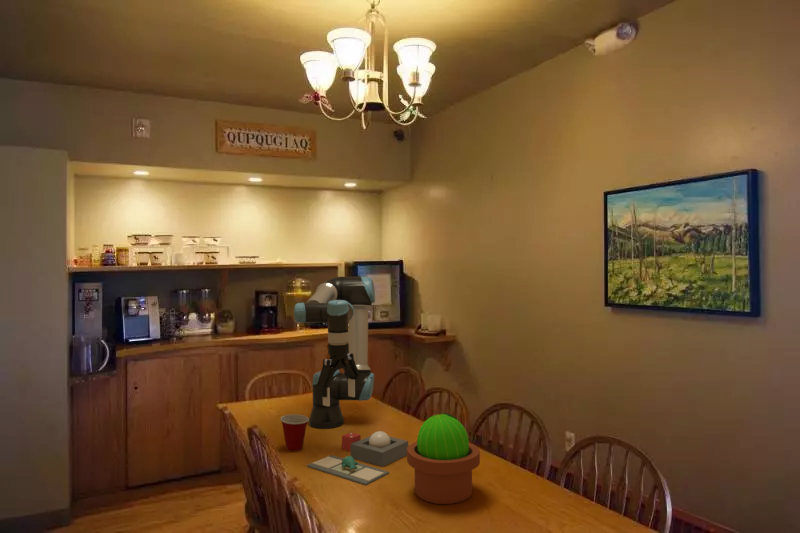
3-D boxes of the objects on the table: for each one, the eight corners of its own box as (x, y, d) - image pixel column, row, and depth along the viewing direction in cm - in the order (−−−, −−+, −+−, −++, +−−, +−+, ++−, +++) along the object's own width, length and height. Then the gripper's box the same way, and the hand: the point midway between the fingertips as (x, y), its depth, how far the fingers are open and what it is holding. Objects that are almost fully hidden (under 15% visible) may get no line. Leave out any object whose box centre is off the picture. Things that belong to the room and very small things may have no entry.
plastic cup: (303, 454, 209) (303, 422, 209) (276, 452, 212) (275, 421, 211) (313, 445, 220) (313, 414, 220) (287, 443, 222) (287, 412, 222)
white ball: (378, 448, 213) (378, 427, 213) (395, 452, 208) (394, 430, 208) (364, 454, 207) (364, 432, 206) (381, 458, 202) (381, 436, 202)
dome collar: (377, 446, 218) (376, 433, 218) (408, 454, 209) (408, 441, 209) (350, 457, 206) (350, 444, 206) (382, 466, 197) (382, 452, 197)
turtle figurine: (354, 463, 198) (354, 453, 198) (362, 471, 191) (361, 459, 191) (338, 466, 195) (338, 455, 195) (345, 474, 188) (345, 462, 188)
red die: (350, 445, 219) (350, 432, 219) (360, 447, 216) (360, 434, 216) (342, 448, 215) (341, 435, 215) (351, 451, 212) (351, 437, 212)
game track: (331, 456, 207) (331, 454, 207) (389, 473, 191) (389, 471, 191) (307, 466, 198) (306, 464, 198) (365, 485, 181) (365, 482, 181)
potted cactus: (430, 514, 160) (430, 427, 160) (395, 486, 180) (395, 408, 179) (493, 498, 171) (493, 416, 170) (453, 474, 190) (453, 400, 190)
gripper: (353, 336, 217) (353, 391, 218) (306, 347, 197) (307, 407, 198) (368, 338, 213) (369, 394, 214) (321, 350, 193) (322, 411, 194)
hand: (339, 401), depth 206 cm, fingers open, 13 cm apart
